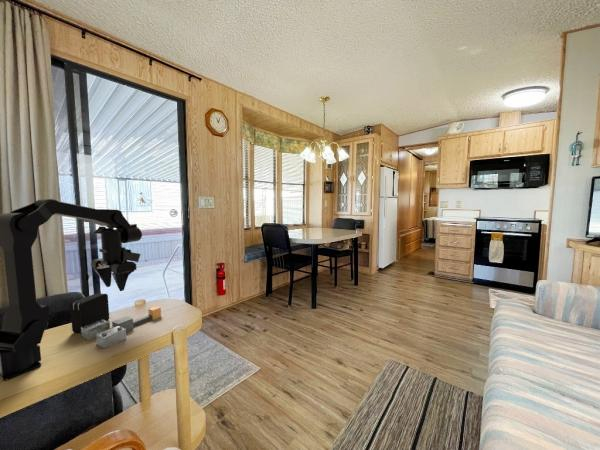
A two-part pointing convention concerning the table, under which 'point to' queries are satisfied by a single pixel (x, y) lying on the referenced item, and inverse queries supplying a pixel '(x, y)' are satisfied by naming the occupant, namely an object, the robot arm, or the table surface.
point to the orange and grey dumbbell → (130, 324)
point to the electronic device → (89, 311)
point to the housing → (103, 333)
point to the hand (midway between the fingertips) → (115, 288)
